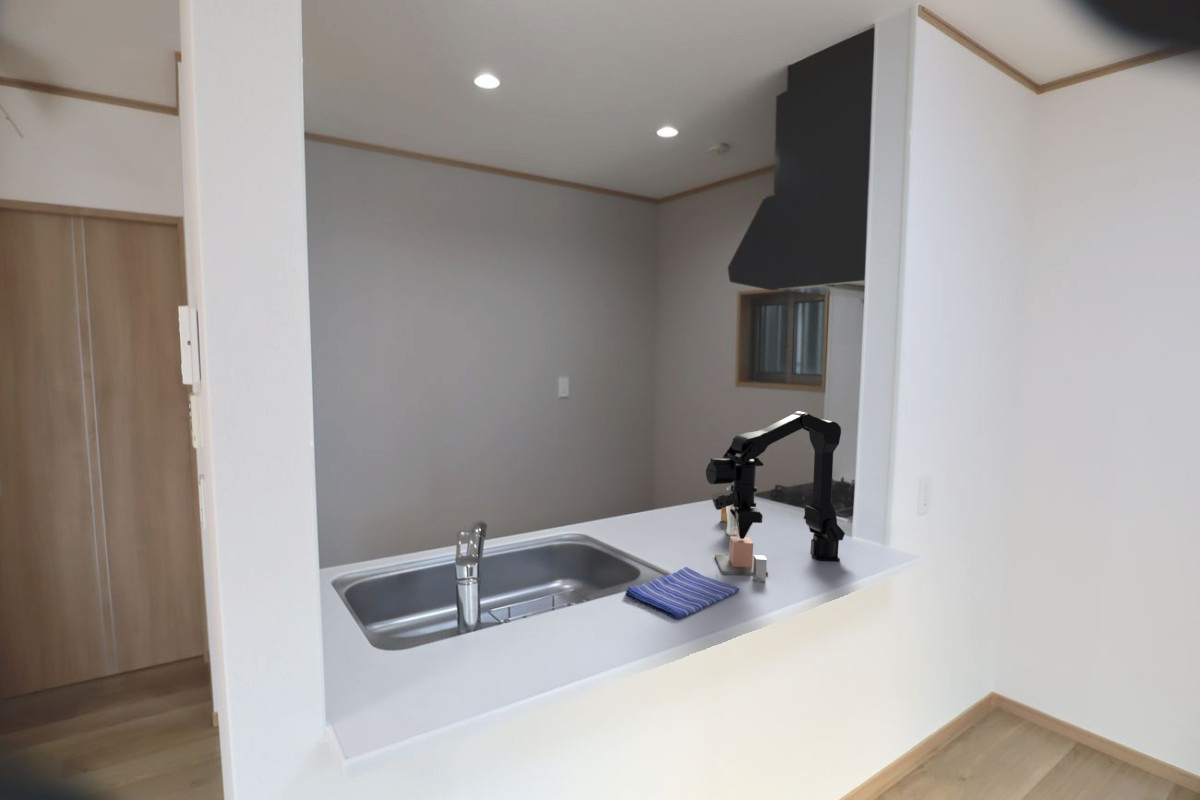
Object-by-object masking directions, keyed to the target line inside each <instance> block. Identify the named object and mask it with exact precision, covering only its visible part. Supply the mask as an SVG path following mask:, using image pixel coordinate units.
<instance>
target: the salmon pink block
mask: <svg viewBox="0 0 1200 800" xmlns="http://www.w3.org/2000/svg"><path fill="white" fill-rule="evenodd" d="M728 551H729V552H728V555H729V560H730V562H731V564H732V566H733V567H752V560H753V556H754V542H753V541H752V540H751V538H750V537H749V536H745V538H744V539H740V537H734V536H729V550H728Z"/></svg>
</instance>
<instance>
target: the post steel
mask: <svg viewBox="0 0 1200 800" xmlns="http://www.w3.org/2000/svg"><path fill="white" fill-rule="evenodd" d="M753 556H754V567H753V575H752V579H753V578H754V579H753V581H754V582H755V581H757V583H765V582H766V579H767V577H766V576H767V575H766V570H767V560H768V559H767V558H766V556H765V555H757V554H756V555H755V554H753Z"/></svg>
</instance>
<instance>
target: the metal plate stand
mask: <svg viewBox="0 0 1200 800" xmlns="http://www.w3.org/2000/svg"><path fill="white" fill-rule="evenodd" d="M714 559H715V562H716V563H717V565H718V568H719V570H720V572H721V575H742V576H753V567H754V555H753V560H752V567H733V566H732V564H731V562H730V560H729V554H714ZM767 575H768V576H769V572H768V570H767V569H766V576H767Z"/></svg>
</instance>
